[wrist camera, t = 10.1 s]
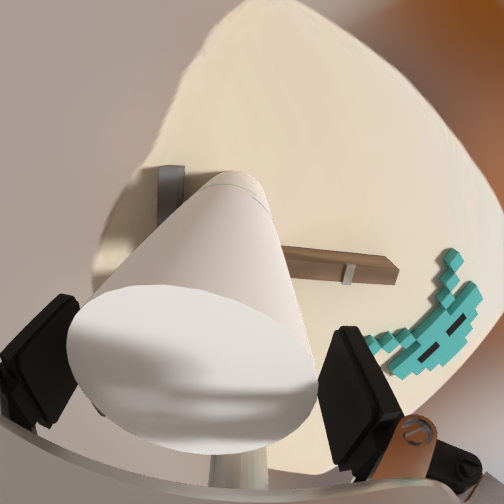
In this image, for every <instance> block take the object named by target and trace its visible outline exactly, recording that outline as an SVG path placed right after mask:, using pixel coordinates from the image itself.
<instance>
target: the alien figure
mask: <svg viewBox="0 0 504 504" xmlns="http://www.w3.org/2000/svg"><path fill="white" fill-rule="evenodd" d="M443 260H444V261H445V263H446V264H447V266H448V269H447V270H446V271H445V273H444V274H443V275H442V276H441V277H440V278H439V279H440V280H441V282H442V283H443V285H444V286H445V287H444V288H443V289H442V290H441V291H440V292H439V293H438V294H437V296H436V298H437V300H438V301H439V303H440V305H439V306H438V307H437V308H436V309H435V310H434V311H433V312H432V313H431V314H430V315H429V316H428V317H427V318H426V319H425V320H424V322H423V323H422V324H421V325H420V326H418V327H417V328H416V329H415V330H414V331H413V332H412V333H411V332H410V331H409V330H408V329H407V328H406V327H405V328H404V329H403V330H402V331H401V332H400V333H399V334H398V335H397V336H396V337H394V336H393V335H392V334H391V333H390V332H389V331H388V332H387V333H386V334H385V335H384V336H383V337H382V338H380V339H379V340H378V341H377V340H376V339H375V338H374V337H372V336H371V335H369V336H368V337H367V338H366V339H365V341H366V343H367V345H368V347H369V349H370V350H371V352H372V354H373V355H375V354H376V353H377V352H378V351H379V350H380V349H381V348H382V349H384V350H385V351H386V352H387V353H390V352H391V351H393V350H394V349H395V348H396V347H397V346H398V345H399V344H400V345H401V346H402V347H404V348H405V350H404V351H403V352H402V353H401V354H400V355H399V356H398V357H396V358H395V359H394V360H393V361H392V362H391V363H389V364H388V367H389V369H390V371H391V372H392V373H393V374H395V375H396V376H398V377H399V378H400V379H402V380H403V379H404V378H406V377H407V376H408V375H409V374H410V373H411V372H413V373H414V374H415V375H418V374H419V373H421V372H422V371H423V370H424V369H425V368H427V369H428V370H429V371H431V370H432V369H433V368H434V367H436V366H437V365H438V364H440V365H441V366H442V367H443V366H444V365H445V364H446V363H447V362H448V361H450V360H451V359H452V358H453V357H454V356H455V355H456V354H457V353H458V352H459V351H460V350H461V349H462V348H463V346H464V345H465V344H466V343H467V340H466V339H465V337H466V336H467V335H468V334H469V332H470V331H471V330H472V329H473V328H472V326H471V325H470V323H471V322H472V321H473V320H474V318H475V317H476V316H477V315H478V313H477V311H476V309H475V308H476V307H477V306H478V304H479V303H480V302H481V301H482V300H483V298H482V296H481V294H480V292H479V290H478V287H477V285H475V284H474V283H473V282H472V281H470V282H469V283H468V284H467V286H466V287H465V288H464V289H463V290H462V292H461V293H460V294H459V295H458V296H457V297H456V299H455V298H454V296H453V295H452V293H451V291H452V290H453V289H454V287H455V286H456V285H457V284H458V283H459V281H460V280H459V278H458V277H457V275H456V273H455V272H456V271H457V270H458V269H459V267H460V266H461V265H462V264H463V262H464V260H463V259H462V257H461V255H460V253H459V252H458V251H456V250H455V249H453V248H452V249H451V250H450V251H449V252H448V254H447V255H446V256H445V257H444V258H443Z"/></svg>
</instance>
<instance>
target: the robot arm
mask: <svg viewBox="0 0 504 504" xmlns="http://www.w3.org/2000/svg"><path fill="white" fill-rule="evenodd" d="M79 310H80V307H79V303H78V301H76V299H75V297H73V296H70V295H66V294H59V295H58V296H57V297H56V298H55V299H54V300H52V301H51V302H50V303H49V304H48V305H47V306H46V307H45V308H44V309H43V310H42V311H41V312H40V313H39V314H38V315H37V316H36V317H35V318H34V319H33V320H32V321H31V322H30V323H29V324H28V325H27V326H26V327H25V328H24V329H23V330H22V331H21V332H20V333H19V334H18V335H17V336H16V337H15V338H14V339H13V340H12V341H11V342H10V343H9V344H8V345H7V346H6V348H5V349H4V350H3V351H2V352H1V353H0V358H1V360H2V362H1V363H0V504H504V484H502V483H501V482H499V481H498V480H497V479H496V478H494V477H493V476H492V475H490V474H489V473H488V472H485V473H484V474H483V473H482V464H481V462H480V460H479V459H478V458H477V456H475V455H474V454H472V453H470V452H467V451H464V450H462V449H459V448H457V447H455V446H452V445H450V444H447V443H445V442H443V441H440V440H438V439H437V430H436V427H435V426H434V424H433V423H432V422H431V421H430V420H429V419H428V418H426V417H424V416H422V415H418V414H410V415H407V416H404V414H403V412H402V410H401V408H400V406H399V404H398V402H397V399H396V397H395V395H394V393H393V391H392V389H391V388H390V386H389V384H388V382H387V380H386V378H385V376H384V374H383V372H382V370H381V368H380V366H379V365H378V363H377V362H376V360H375V358H374V356H373V354H372V352H371V350H370V349H369V347H368V345H367V343H366V341H365V339H364V338H363V336H362V334H361V332H360V330H359V328H358V327H357V326H341V327H340V328H339V330H335V332H334V334H333V337H332V340H331V343H330V346H329V349H328V352H327V355H326V358H325V361H324V364H323V367H322V370H321V372H320V375H319V378H318V384H319V386H318V393H317V396H318V400H319V404H320V408H321V412H322V416H323V421H324V425H325V429H326V433H327V438H328V442H329V446H330V451H331V455H332V459H333V463H334V464H335V465H338V466H339V471H340V472H341V471H347V470H352V474H353V476H354V478H353V479H352V481H351V482H350V483H348V484H342V485H334V486H326V487H316V488H303V489H285V490H268V470H267V450H266V446H265V447H262V448H259V449H256V450H252V451H247V452H241V453H235V454H221V455H212V454H211V460H210V472H209V482H208V487H206V486H198V485H191V484H184V483H178V482H173V481H167V480H162V479H158V478H153V477H148V476H145V475H141V474H136V473H133V472H129V471H126V470H122V469H119V468H116V467H112V466H110V465H106V464H104V463H101V462H98V461H95V460H92V459H90V458H87V457H84V456H82V455H79V454H77V453H74V452H72V451H69V450H67V449H65V448H62V447H61V446H58V445H56V444H54V443H52V442H50V441H48V440H46V439H44V438H42V437H40V436H38V435H37V431H36V427H35V424H36V422H38V423H39V424H40V425H42V426H44V427H46V428H48V429H50V428H51V426H52V424H54V423H56V422H57V421H58V419H59V417H60V415H61V413H62V412H63V410H64V408H65V406H66V404H67V403H68V401H69V399H70V397H71V396H72V394H73V392H74V391H75V389H76V387H77V385H78V383H77V381H76V380H75V378H74V375H73V373H72V370H71V368H70V365H69V362H68V356H67V348H66V343H67V335H68V329H69V327H70V325H71V323H72V321H73V319H74V317H75V315H76V314H77V313H78V311H79Z"/></svg>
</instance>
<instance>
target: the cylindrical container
mask: <svg viewBox="0 0 504 504" xmlns="http://www.w3.org/2000/svg"><path fill="white" fill-rule="evenodd" d="M66 348H67V356H68V362H69V365H70V368H71V370H72V373H73V375H74V378H75V380H76V381H77V383H78V385H79V386H80V388H81V389H82V391H83V393H84V394H85V395H86V396H87V397H88V399H89V400H90V401H91V402H92V403H93V404H94V406H95V407H96V408H97V409H98V410H100V411H101V412H102V413H103V414H104V415H105V416H107V417H108V418H109V419H110V420H111V421H113V422H114V423H116V424H117V425H119V426H120V427H122V428H123V429H125V430H126V431H128V432H130V433H132V434H134V435H136V436H138V437H140V438H142V439H144V440H147V441H149V442H152V443H154V444H157V445H160V446H163V447H167V448H170V449H174V450H178V451H184V452H189V453H196V454H212V455H221V454H235V453H241V452H247V451H252V450H256V449H259V448H262V447H265V446H268V445H271V444H273V443H275V442H277V441H279V440H281V439H283V438H285V437H286V436H288V435H289V434H290V433H292V432H293V431H294V430H296V429H297V428H298V427H299V426H300V425H301V424H302V423H303V422H304V421H305V420H306V418H307V417H308V416H309V415H310V413H311V411H312V409H313V407H314V405H315V403H316V400H317V393H318V386H319V384H318V378H317V373H316V368H315V364H314V360H313V356H312V353H311V349H310V345H309V342H308V338H307V334H306V331H305V327H304V323H303V320H302V316H301V313H300V309H299V306H298V302H297V299H296V295H295V292H294V288H293V285H292V281H291V278H290V274H289V271H288V268H287V264H286V261H285V258H284V254H283V251H282V248H281V245H280V241H279V238H278V235H277V232H276V229H275V225H274V222H273V219H272V216H271V212H270V209H269V206H268V203H267V200H266V197H265V194H264V191H263V189H262V187H261V185H260V184H259V183H258V181H257V180H255V179H254V178H253V177H252V176H250V175H248V174H246V173H244V172H241V171H226V172H222V173H219V174H218V175H216V176H214V177H213V178H212V179H210V180H209V181H208V182H207V183H206V184H204V185H203V186H202V187H201V188H200V189H199V190H198V191H197V192H195V193H194V194H193V195H192V196H191V197H190V198H189V199H188V200H186V201H185V202H184V203H183V204H182V205H181V206H180V207H179V208H178V209H177V210H176V211H175V212H173V213H172V214H171V215H170V216H169V217H168V218H167V219H166V220H165V221H164V222H163V223H162V224H161V225H160V226H159V227H158V228H157V229H156V230H155V231H153V232H152V233H151V234H150V235H149V236H148V237H147V238H146V239H145V240H144V241H143V242H142V243H141V244H140V245H139V246H138V247H137V248H136V249H135V250H134V251H133V252H132V253H131V254H130V255H129V257H128V258H127V259H126V260H125V261H124V262H123V263H122V264H121V265H120V266H119V267H118V268H117V269H116V270H115V271H114V272H113V273H112V274H111V275H110V277H109V278H108V279H107V280H106V281H105V282H104V283H103V284H102V285H101V286H100V287H99V289H98V290H97V291H96V292H95V293H94V294H93V295H92V297H91V298H90V299H89V300H88V301H87V302H86V303H85V304H84V306H83V307H82V308H81V309H80V310H79V311H78V313H77V314H76V315H75V317H74V319H73V321H72V323H71V325H70V327H69V329H68V335H67V343H66Z"/></svg>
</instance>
